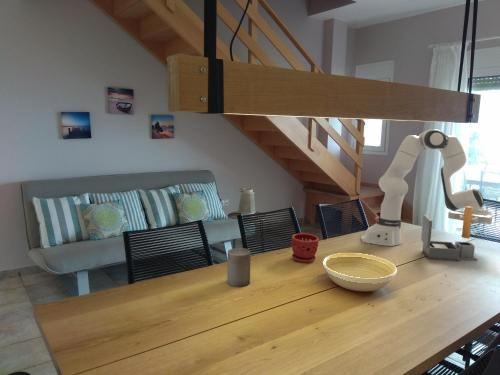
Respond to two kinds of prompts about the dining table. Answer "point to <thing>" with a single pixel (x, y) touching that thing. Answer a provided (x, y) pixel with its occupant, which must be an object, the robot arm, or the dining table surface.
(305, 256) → the plant pot
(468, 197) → the robot arm
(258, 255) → the dining table surface
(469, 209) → the rod
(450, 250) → the equipment case
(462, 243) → the grey square holder
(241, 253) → the pillar candle
